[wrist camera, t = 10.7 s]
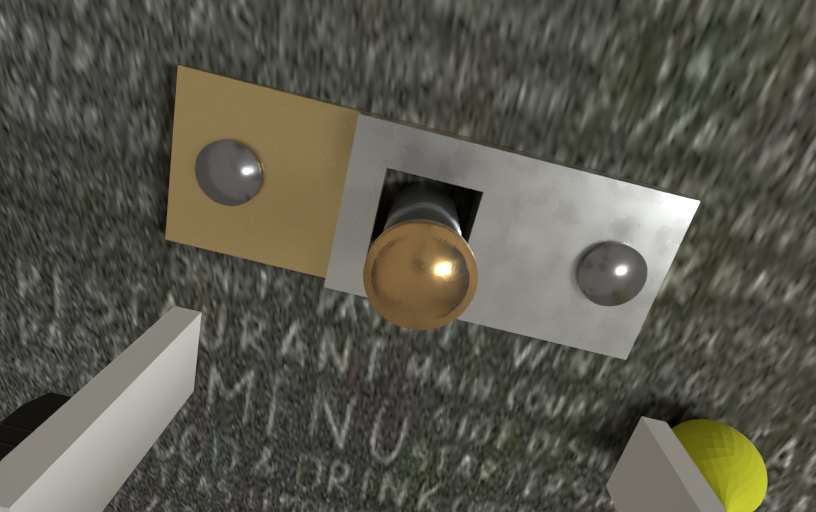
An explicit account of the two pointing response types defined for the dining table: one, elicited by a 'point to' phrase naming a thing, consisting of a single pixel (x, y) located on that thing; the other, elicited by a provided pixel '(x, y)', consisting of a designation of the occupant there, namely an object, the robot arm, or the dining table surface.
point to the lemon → (725, 462)
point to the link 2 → (526, 234)
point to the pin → (421, 261)
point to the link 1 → (260, 170)
